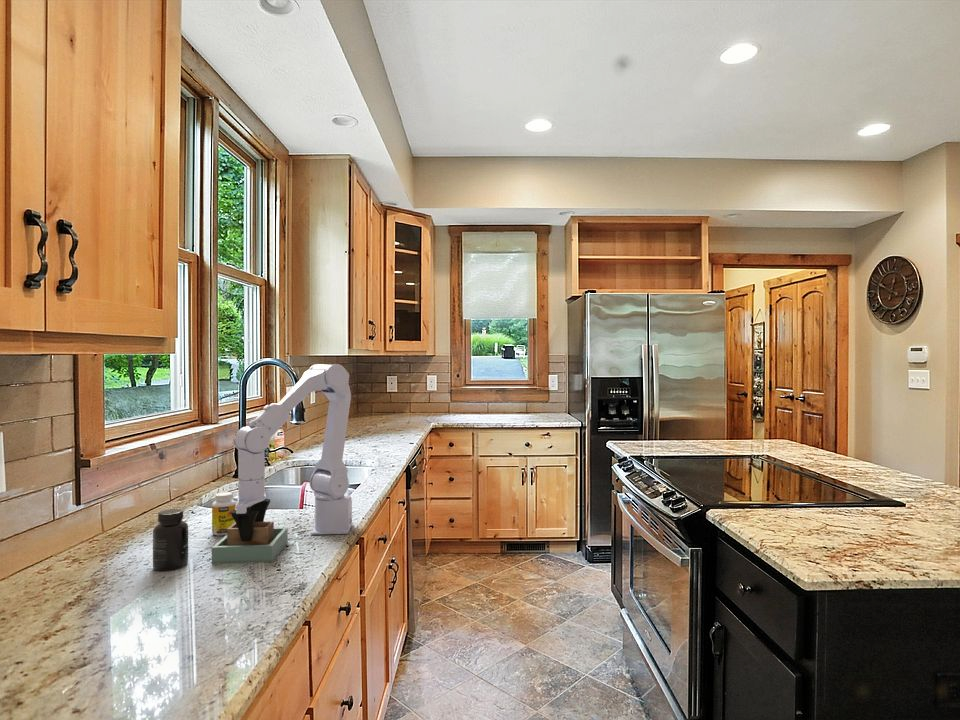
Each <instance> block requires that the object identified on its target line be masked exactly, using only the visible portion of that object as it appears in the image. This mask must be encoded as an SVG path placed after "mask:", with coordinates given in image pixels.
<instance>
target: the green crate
mask: <svg viewBox="0 0 960 720" xmlns="http://www.w3.org/2000/svg"><path fill="white" fill-rule="evenodd" d="M288 531H289V529H288V527H274V540H273V541H272V542H271V543H270V544H269V545H242V546H227V535H224V536H223V538H221V539H220V540H218V541H217V542H216V543H215V544H214V545H213V546H212V547H211V564H212V565H217V564H218V565H220V564H250V563H253V564H254V563H256V564H257V563H273V561H274V560H275V559H276V557H277V556H278V555H279V554H280V552H281V551H282V550H283V548H284V547H285V546H286V545H287V544H288V540H289V539H288V538H289V537H288V535H289V533H288ZM286 543H287V544H286Z"/></svg>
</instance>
